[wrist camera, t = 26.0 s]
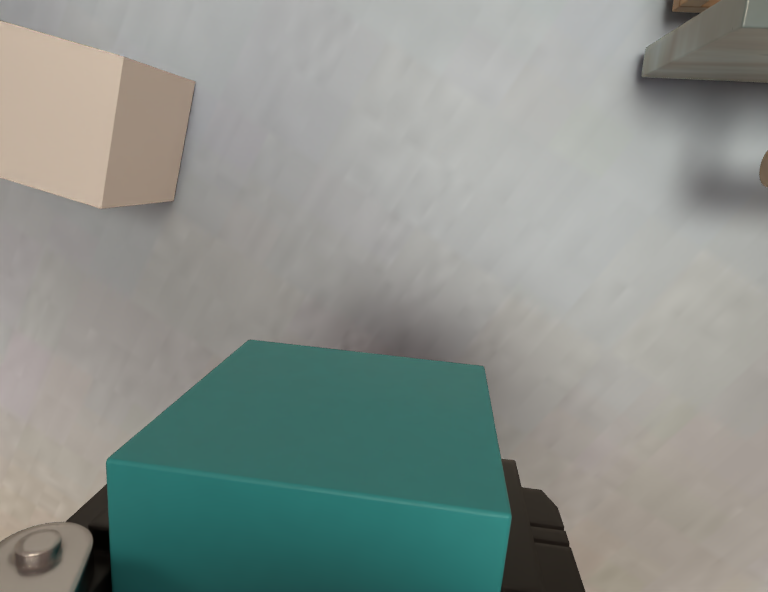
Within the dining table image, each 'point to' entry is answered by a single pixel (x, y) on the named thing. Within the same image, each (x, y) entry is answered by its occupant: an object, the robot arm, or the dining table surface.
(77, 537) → the robot arm
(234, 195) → the dining table surface
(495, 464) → the cube
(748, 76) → the drawer
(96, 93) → the beige cube
